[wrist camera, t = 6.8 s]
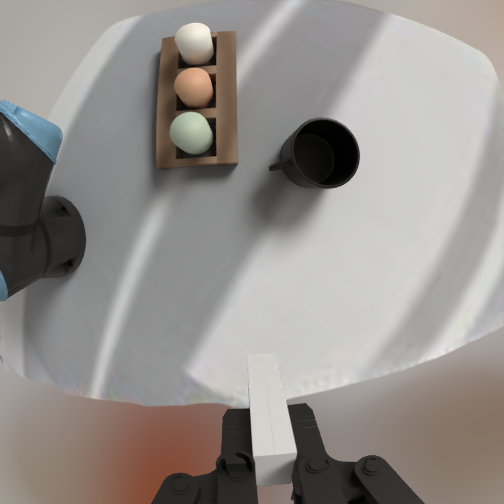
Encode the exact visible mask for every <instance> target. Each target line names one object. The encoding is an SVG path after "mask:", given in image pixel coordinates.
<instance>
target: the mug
mask: <svg viewBox="0 0 504 504" xmlns="http://www.w3.org/2000/svg"><path fill="white" fill-rule="evenodd" d="M280 158H281V162H279V163H275V164H273V165H271V166H270V167H269V170H270V171H275V170H279V169H283V170H284V172H285V174H286V175H287V177H288V178H289V179H290V180H291V181H292V182H294V183H295V184H297V185H299V186H301V187H305V188H321V189H331V188H337V187H339V186H342V185H344V184H345V183H347V182H348V181H349V180H350V179H351V178H352V177H353V176H354V174H355V173H356V171H357V168H358V165H359V160H360V152H359V147H358V143H357V141H356V139H355V137H354V135H353V134H352V133H351V131H350V130H349V129H348V128H347V127H346V126H344V125H343V124H342V123H340V122H338V121H336V120H333V119H330V118H314V119H311V120H309V121H307V122H305V123H303V124H302V125H301V126H300V127H299V128H298V129H297V130H296V131H295V132H294V133H293V134H292V135H291V136H290V137H289V138H288V139H287V140H286V141H285V143H284V145H283V147H282V150H281V156H280Z"/></svg>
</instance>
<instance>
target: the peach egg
mask: <svg viewBox="0 0 504 504" xmlns="http://www.w3.org/2000/svg"><path fill="white" fill-rule="evenodd" d="M174 88H175V91H176V93H177V94H178V96H179V97H180V99H181V100H182V102H183V103H184V105H185V106H186V107H187V108H189V109H191V110H195V109H205V108H206V107H208V106H209V105H210V104H211V103H212V101H213V98H214V92H213V88H212V84H211V80H210V77H209V75H208V73H207V72H206V71H204V70H203V69H200V68H189V69H186V70H184V71H182V72H181V73H180V74H179V75H178V76H177V78H176V79H175V82H174Z"/></svg>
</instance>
